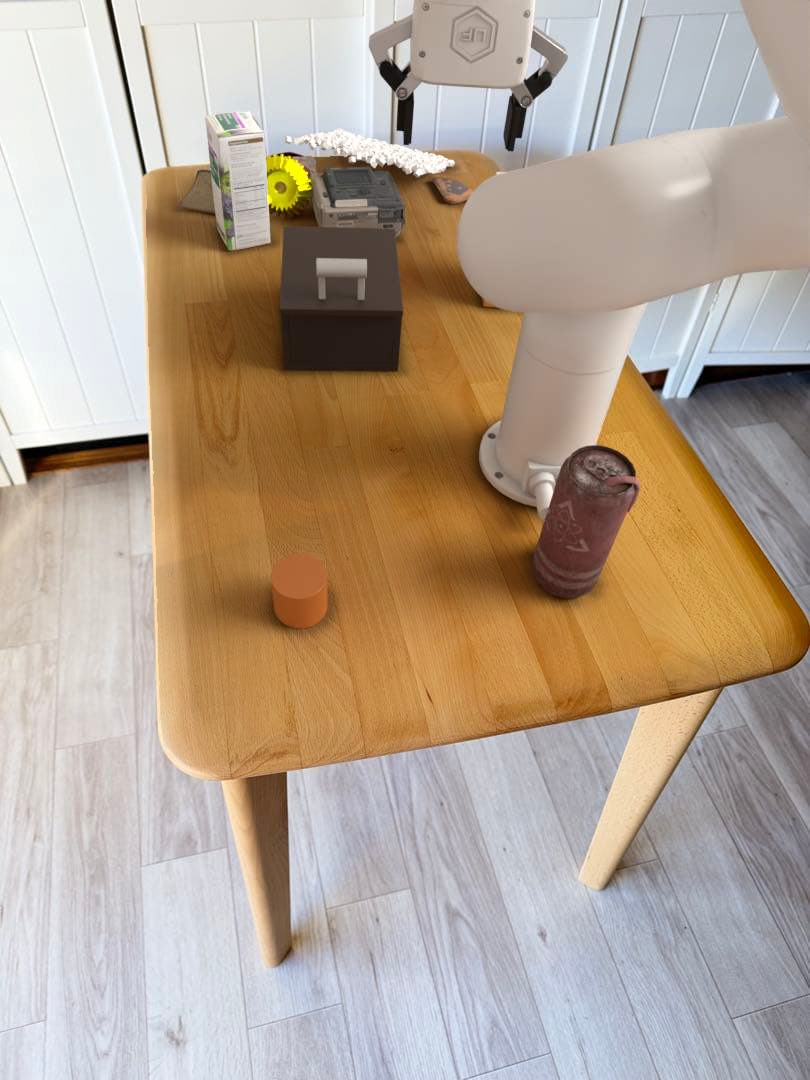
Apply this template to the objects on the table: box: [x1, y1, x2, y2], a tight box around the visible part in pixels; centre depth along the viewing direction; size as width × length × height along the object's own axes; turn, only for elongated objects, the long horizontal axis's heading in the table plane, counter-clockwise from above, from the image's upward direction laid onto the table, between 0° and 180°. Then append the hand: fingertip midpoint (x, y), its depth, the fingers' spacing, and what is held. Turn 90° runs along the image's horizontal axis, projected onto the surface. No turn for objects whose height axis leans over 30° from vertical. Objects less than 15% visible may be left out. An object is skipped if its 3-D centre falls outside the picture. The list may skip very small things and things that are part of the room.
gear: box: [266, 153, 312, 219], centre depth 107 cm, size 8×4×8 cm
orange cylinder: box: [270, 553, 329, 629], centre depth 69 cm, size 5×5×4 cm
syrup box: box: [204, 110, 272, 252], centre depth 100 cm, size 6×6×14 cm
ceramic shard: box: [178, 169, 216, 215], centre depth 107 cm, size 10×5×2 cm
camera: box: [309, 166, 406, 238], centre depth 107 cm, size 11×6×10 cm
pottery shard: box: [431, 176, 474, 205], centre depth 115 cm, size 7×1×5 cm
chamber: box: [280, 315, 403, 372], centre depth 92 cm, size 15×13×8 cm
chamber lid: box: [279, 225, 404, 318], centre depth 86 cm, size 15×13×5 cm
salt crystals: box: [284, 127, 456, 178], centre depth 114 cm, size 20×20×2 cm
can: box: [531, 444, 642, 599], centre depth 69 cm, size 6×6×14 cm
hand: (457, 141), depth 77 cm, fingers open, 9 cm apart
